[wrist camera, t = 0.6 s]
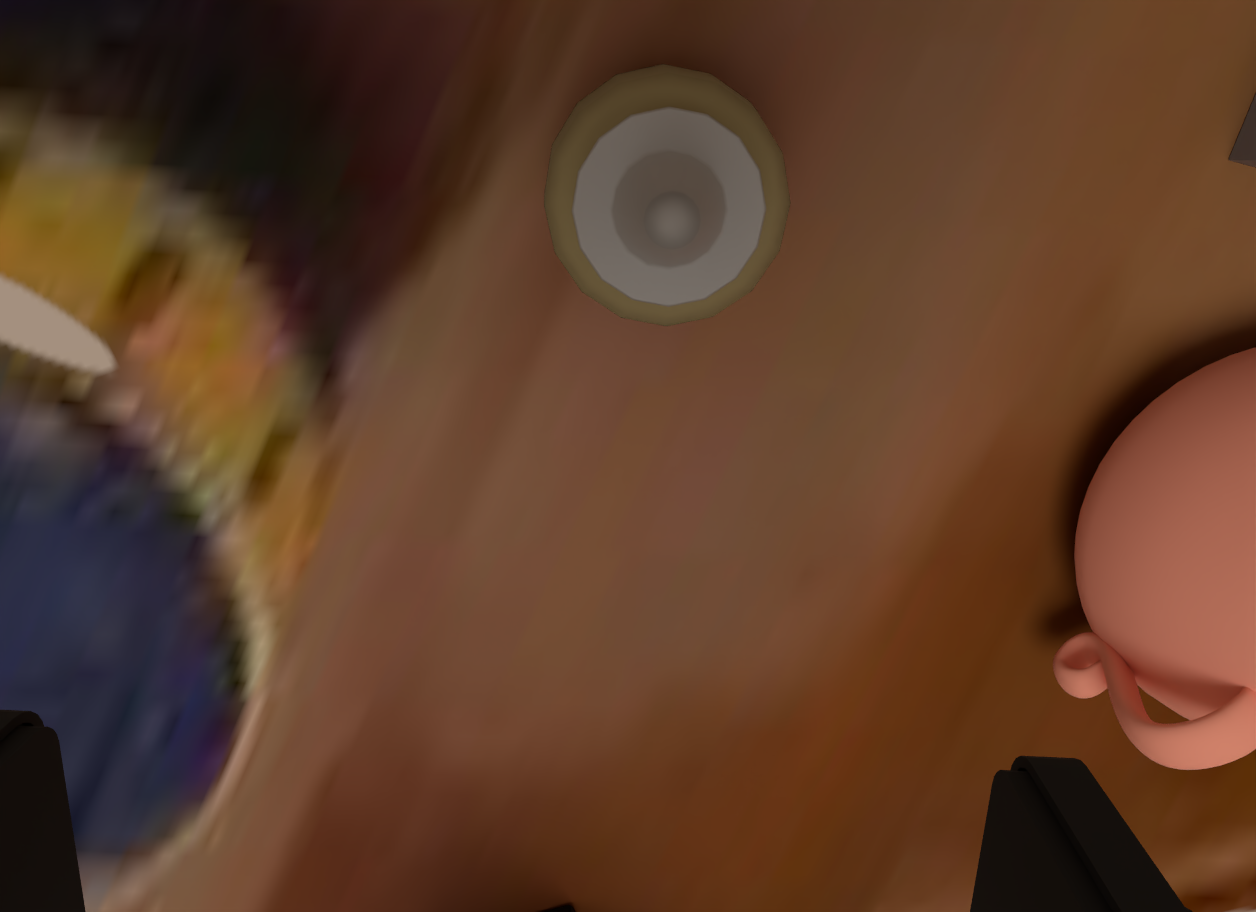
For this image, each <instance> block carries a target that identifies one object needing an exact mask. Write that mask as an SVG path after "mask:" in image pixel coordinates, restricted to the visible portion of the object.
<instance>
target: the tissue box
mask: <svg viewBox="0 0 1256 912" xmlns="http://www.w3.org/2000/svg"><path fill="white" fill-rule="evenodd" d="M547 912H574V909H573V907H572V906H570V905H568V906H565V907H561V908H558V909H554V910H550V911H547Z"/></svg>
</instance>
